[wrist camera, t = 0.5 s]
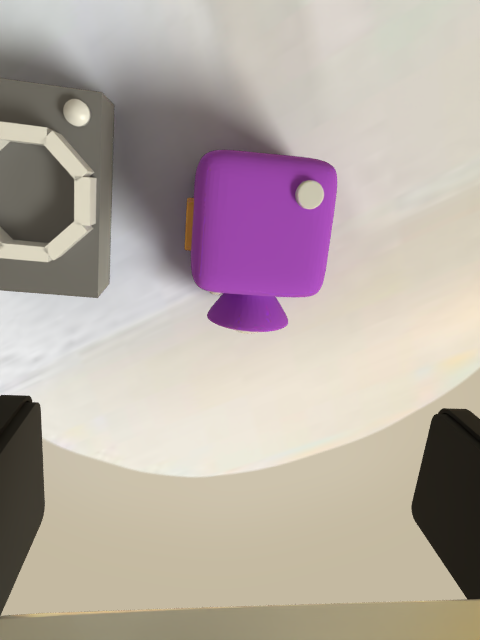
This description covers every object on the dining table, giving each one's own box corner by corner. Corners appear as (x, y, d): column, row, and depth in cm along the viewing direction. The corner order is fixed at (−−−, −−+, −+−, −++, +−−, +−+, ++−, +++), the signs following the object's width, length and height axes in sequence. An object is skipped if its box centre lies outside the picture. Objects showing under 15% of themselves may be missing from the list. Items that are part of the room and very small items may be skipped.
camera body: (-11, 88, 33) (-62, 63, 26) (114, 105, 34) (96, 85, 27) (-3, 274, 37) (-46, 294, 30) (109, 283, 38) (92, 304, 31)
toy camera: (196, 321, 40) (198, 364, 30) (173, 160, 36) (168, 151, 26) (314, 306, 40) (352, 343, 31) (305, 147, 36) (345, 133, 27)
